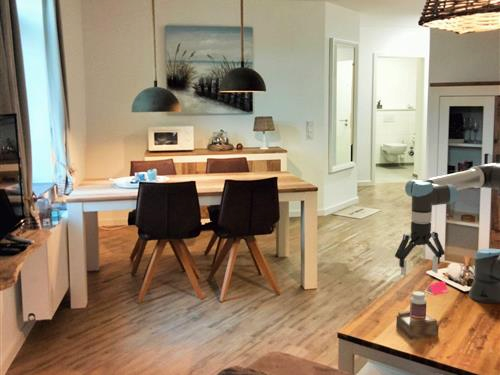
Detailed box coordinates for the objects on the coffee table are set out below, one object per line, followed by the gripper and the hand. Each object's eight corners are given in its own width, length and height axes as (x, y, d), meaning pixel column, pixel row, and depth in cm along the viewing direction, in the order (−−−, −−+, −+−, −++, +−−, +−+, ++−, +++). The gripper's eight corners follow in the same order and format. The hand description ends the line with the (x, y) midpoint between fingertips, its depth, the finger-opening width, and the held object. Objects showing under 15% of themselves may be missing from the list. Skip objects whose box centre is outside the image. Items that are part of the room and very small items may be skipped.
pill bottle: (428, 321, 216) (430, 295, 214) (414, 323, 214) (416, 297, 212) (420, 315, 222) (421, 289, 220) (406, 317, 220) (407, 291, 218)
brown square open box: (422, 323, 226) (423, 309, 225) (438, 336, 214) (438, 320, 213) (396, 326, 224) (396, 311, 222) (410, 339, 212) (410, 323, 211)
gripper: (444, 217, 217) (442, 267, 221) (387, 221, 212) (385, 273, 216) (455, 221, 210) (452, 273, 213) (396, 226, 205) (394, 279, 209)
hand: (419, 273), depth 215 cm, fingers open, 13 cm apart
